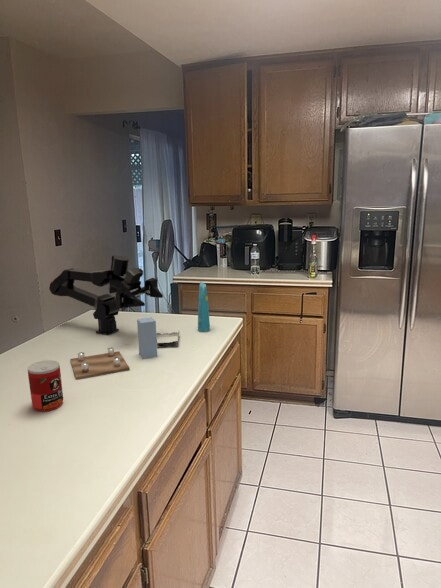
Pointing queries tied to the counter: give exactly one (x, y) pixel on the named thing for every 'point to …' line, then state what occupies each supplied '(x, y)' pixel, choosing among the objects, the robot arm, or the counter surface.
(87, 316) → the counter surface
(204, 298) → the tube
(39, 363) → the canned food
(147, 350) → the slate blue block
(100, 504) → the counter surface
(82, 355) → the peg stand
